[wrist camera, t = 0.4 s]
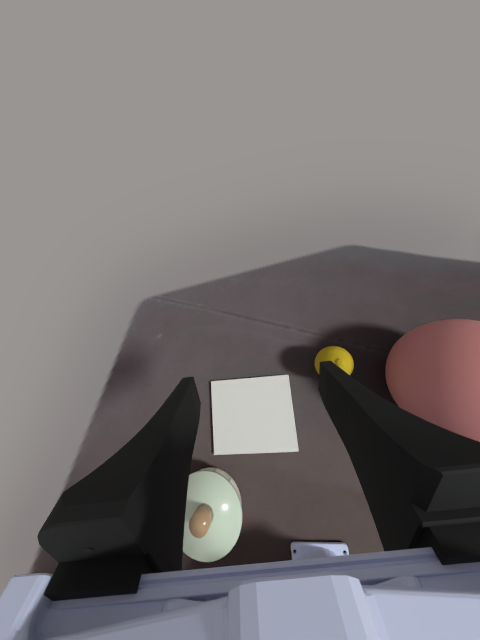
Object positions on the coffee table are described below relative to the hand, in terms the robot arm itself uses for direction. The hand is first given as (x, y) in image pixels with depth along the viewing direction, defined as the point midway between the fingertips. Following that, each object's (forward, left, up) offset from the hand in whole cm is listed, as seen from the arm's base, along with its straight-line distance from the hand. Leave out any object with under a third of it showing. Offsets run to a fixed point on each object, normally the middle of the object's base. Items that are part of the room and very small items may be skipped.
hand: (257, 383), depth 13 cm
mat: (-5, +4, -28) cm, 29 cm away
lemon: (+2, -10, -29) cm, 30 cm away
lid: (-18, +12, -25) cm, 33 cm away
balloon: (-2, -26, -29) cm, 39 cm away
